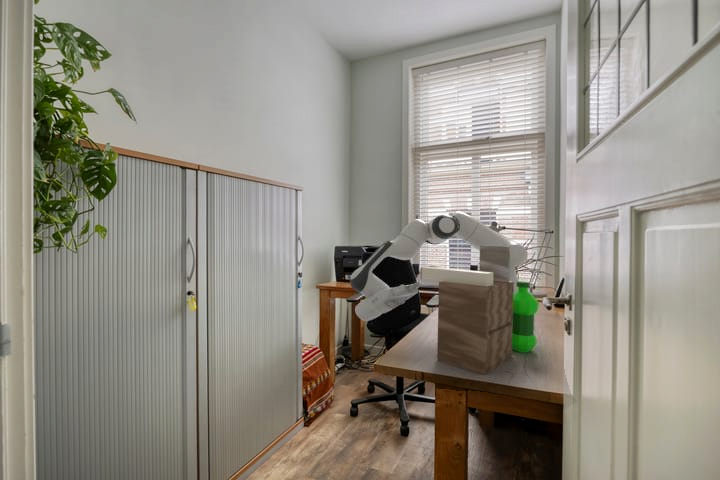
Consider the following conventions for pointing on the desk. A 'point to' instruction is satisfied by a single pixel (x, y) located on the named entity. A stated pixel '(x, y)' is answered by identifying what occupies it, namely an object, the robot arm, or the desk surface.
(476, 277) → the white rectangular bar
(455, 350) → the wood grain block
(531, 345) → the plastic bottle
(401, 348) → the desk surface
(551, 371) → the desk surface
